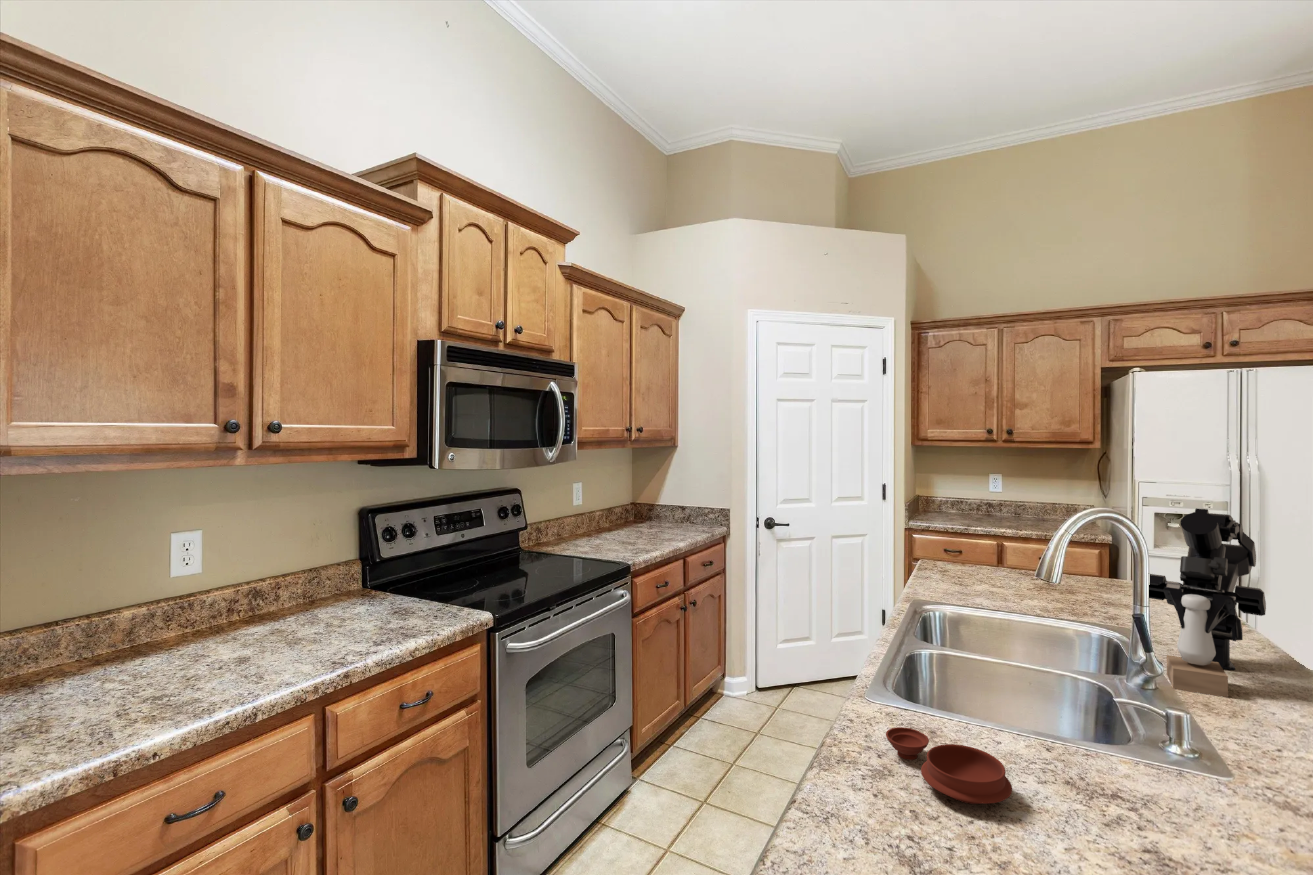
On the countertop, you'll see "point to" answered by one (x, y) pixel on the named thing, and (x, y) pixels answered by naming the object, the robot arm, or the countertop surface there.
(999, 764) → the pottery
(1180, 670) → the walnut plinth
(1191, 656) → the salt shaker
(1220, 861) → the countertop surface
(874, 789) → the countertop surface
